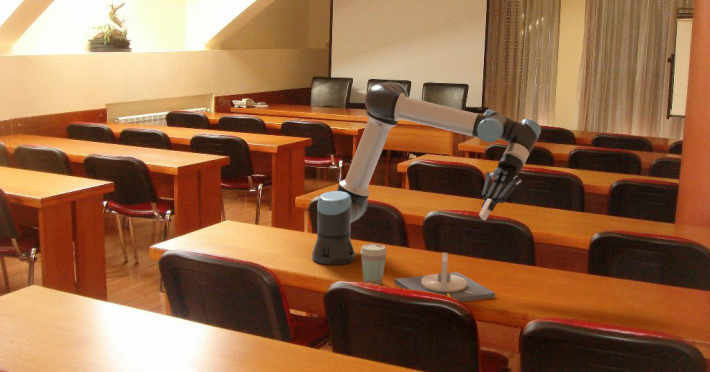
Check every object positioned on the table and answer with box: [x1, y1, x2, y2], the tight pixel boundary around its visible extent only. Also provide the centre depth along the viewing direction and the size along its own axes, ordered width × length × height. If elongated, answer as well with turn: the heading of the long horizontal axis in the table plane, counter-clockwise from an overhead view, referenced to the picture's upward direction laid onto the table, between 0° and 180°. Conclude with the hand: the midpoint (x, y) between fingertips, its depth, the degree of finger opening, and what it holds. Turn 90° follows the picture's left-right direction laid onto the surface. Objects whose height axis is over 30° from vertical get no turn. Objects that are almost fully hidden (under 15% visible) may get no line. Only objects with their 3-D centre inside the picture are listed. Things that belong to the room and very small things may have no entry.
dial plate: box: [394, 271, 496, 303], centre depth 247 cm, size 23×23×2 cm
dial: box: [421, 252, 467, 292], centre depth 244 cm, size 17×14×10 cm
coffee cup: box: [359, 243, 388, 286], centre depth 252 cm, size 8×8×12 cm
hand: (482, 217), depth 251 cm, fingers closed
